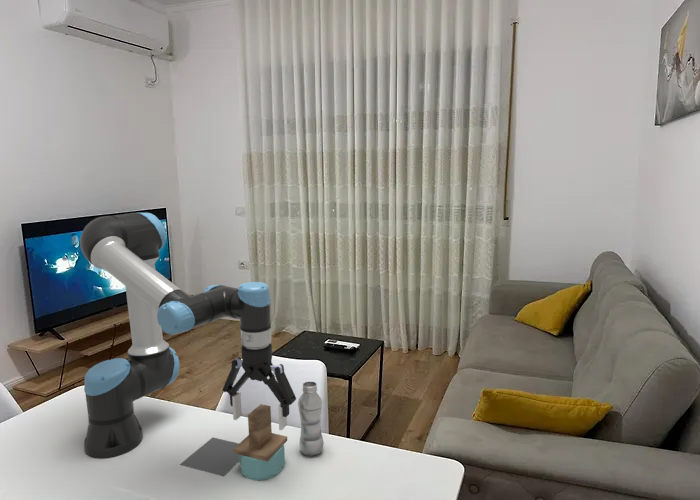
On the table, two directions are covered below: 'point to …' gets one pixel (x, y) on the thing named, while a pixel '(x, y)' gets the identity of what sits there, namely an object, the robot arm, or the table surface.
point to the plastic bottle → (310, 420)
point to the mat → (214, 457)
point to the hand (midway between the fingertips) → (259, 422)
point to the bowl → (262, 466)
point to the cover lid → (260, 436)
